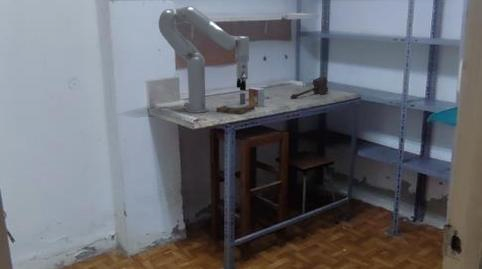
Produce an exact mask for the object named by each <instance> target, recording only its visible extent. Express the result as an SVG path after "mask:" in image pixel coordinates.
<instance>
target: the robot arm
mask: <svg viewBox="0 0 482 269" xmlns="http://www.w3.org/2000/svg"><path fill="white" fill-rule="evenodd" d="M183 23H188V24H190V25H191V26H192V27H194V28H195V29H197V30H198V31H200V32H201V33H202V34H203V35H205V36H207V37H208V38H209V39H211V40H213V42H215V43H216V44H217V45H219V46H220V47H222V48H223V49H225V50H226V51H227V50H228V51H231V50H234V49H235V56H234V57H235V59H234V61H235V62H236V88H238V89H239V91H246V89H247V80H248V79H249V75H248V74H249V72H248V71H249V69H248V68H249V66H248V65H249V64H248V63H249V60H250V37H249V36H248V35H247V36H246V35H238V36H237V35H231V34H229V33H227V31H225V30H224V29H222V28H221V27H220V26H219V25H217V23H216V22H215V21H213V20H212V19H210V18H209V17H208V16H207V15H205V14H204V13H202V12H201V11H200V10H198V9H197V8H196V7H195V6H193V5H191V6H189V5H188V6H184V7H176V8H166V9H164V10H163V11H162V12H161V14H160V15H159V20H158V29H159V32H160V34H161V36H162V37H163V38H164V39H165V40H166V43H168V45H169V46H170V47H171V48H172V49H173V51H174V52H175V53H176V55H178V56H179V57H180V58H182V59H183V60H184V61H185V62H186V65H187V66H186V68H187V87H188V90H187V91H188V92H187V93H188V102H184V103H183V107H187V108H186V112H187V113H193V114H198V113H199V114H201V113H207V112H209V107H206V103H207V102H206V72H205V71H206V68H205V67H206V61H205V60H206V59H205V58H204V56H203V55H202V54H201V52H200V51H199V50H198V49H197V47H195V45H194V44H193V43H192V42H191V41H190V40H189V39H187V38H185V37H184V36H183V34H181V32H180V31H179V30H178V29H177V28H176V24H177V25H178V24H183Z"/></svg>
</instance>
